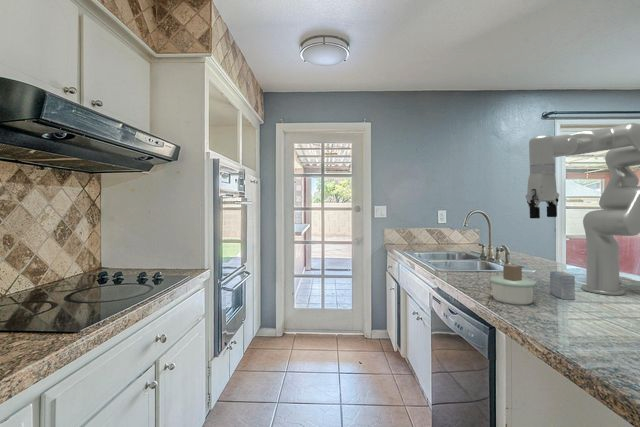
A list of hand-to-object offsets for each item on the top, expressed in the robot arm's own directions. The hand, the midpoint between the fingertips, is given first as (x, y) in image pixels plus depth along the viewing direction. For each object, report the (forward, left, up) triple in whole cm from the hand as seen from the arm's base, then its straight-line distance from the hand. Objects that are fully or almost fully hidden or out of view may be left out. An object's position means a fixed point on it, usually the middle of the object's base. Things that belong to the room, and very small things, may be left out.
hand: (543, 217), depth 115 cm
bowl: (+13, -3, -29) cm, 32 cm away
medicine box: (-7, +2, -29) cm, 30 cm away
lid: (+13, -3, -23) cm, 27 cm away
